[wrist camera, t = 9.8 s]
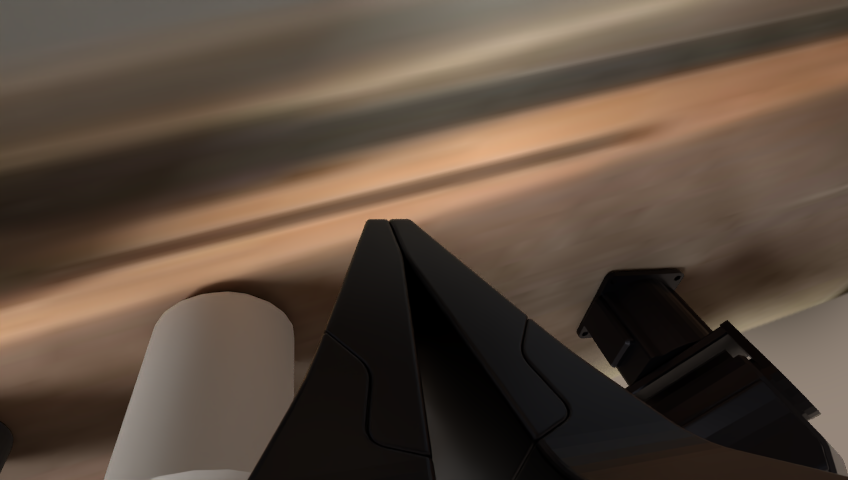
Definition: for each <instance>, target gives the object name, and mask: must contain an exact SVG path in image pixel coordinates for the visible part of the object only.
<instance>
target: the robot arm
mask: <svg viewBox="0 0 848 480" xmlns="http://www.w3.org/2000/svg"><path fill="white" fill-rule="evenodd" d="M683 277H684V274H683V273H682V272H681V271H680V270H654V271H632V272H613V273H609V274H608V275H606V277H605V278H604V280H603V282H602V284H601V285H600V287H599V289H598V291H597V293H596V295H595V297H594V299H593V301H592V303H591V305H590V307H589V308H588V310H587V312H586V314H585V316H584V318H583V320H582V322H581V324H580V326H579V328H578V329H577V334H578V336H579V337H580V338H591V337H592V338H593V339H594V341H595V342H596V344H597V346H598V347H599V349H600V350H601V352H602V353H603V355H604V356H605V358H606V359H607V361H608V362H609V364H610V365H611V366H612V367H614V368H615V367H616V368H617V369H618V371H619V372H620V374H621V375H622V377H623V378H624V379H625V381H626V382H627V384H628V385H629V386H628V387H627V388H623V387H621V386H620V385H619V384H617V383H616V382H614V381H613V380H612V379H610V378H609V377H607V376H606V375H604V374H603V373H601V372H600V371H599V370H597V369H596V368H594V367H593V366H592V365H590V364H589V363H588V362H586V361H585V360H583V359H582V358H581V357H579V356H578V355H576V354H575V353H574V352H572V351H571V350H570V349H568V348H567V347H566V346H564V345H563V344H562V343H561V342H559V341H558V340H557V339H556V338H554V337H553V336H552V335H550V334H549V333H548V332H547V331H545V330H544V329H543V328H542V327H541V326H539V325H538V324H537V323H536V322H534V321H533V320H532V319H528V317H527V315H526V314H524V313H523V312H522V311H521V310H520V309H518V308H517V307H516V306H515V305H513V304H512V303H511V302H510V301H509V300H507V299H506V298H505V297H504V296H503V295H501V294H500V293H499V292H498V291H496V290H495V289H494V288H493V287H492V286H490V285H489V284H488V283H487V282H486V281H484V280H483V279H482V278H481V277H479V276H478V275H477V274H476V273H475V272H473V271H472V270H471V269H470V268H468V267H467V266H466V265H465V264H464V263H462V262H461V261H460V260H459V259H458V258H456V257H455V256H454V255H453V254H451V253H450V252H449V251H448V250H447V249H445V248H444V247H443V246H442V245H440V244H439V243H438V242H437V241H436V240H434V239H433V238H432V237H431V236H430V235H428V234H427V233H426V232H425V231H423V230H422V229H421V228H420V227H419V226H417V225H416V224H415V223H414V222H412V221H411V220H409V219H392V220H390V221H388V220H385V219H370V220H367V222H366V224H365V226H364V229H363V231H362V234H361V237H360V239H359V242H358V244H357V247H356V250H355V252H354V255H353V257H352V260H351V263H350V265H349V268H348V270H347V273H346V276H345V278H344V281H343V283H342V286H341V289H340V291H339V294H338V297H337V299H336V302H335V304H334V307H333V310H332V312H331V315H330V317H329V320H328V323H327V325H326V328H325V330H324V334H323V335H322V337H321V340H320V343H319V345H318V348H317V350H316V353H315V355H314V357H313V360H312V362H311V364H310V367H309V369H308V371H307V373H306V376H305V378H304V380H303V382H302V384H301V386H300V388H299V389H298V391H297V393H296V395H295V397H294V399H293V401H292V403H291V405H290V407H289V408H288V410H287V412H286V414H285V415H284V417H283V419H282V421H281V422H280V424H279V426H278V427H277V429H276V431H275V433H274V434H273V436H272V438H271V440H270V441H269V443H268V445H267V447H266V448H265V450H264V452H263V454H262V455H261V457H260V459H259V460H258V462H257V464H256V466H255V467H254V469H253V471H252V473H251V474H250V476H249V478H248V480H848V474H847V470H846V467H845V463H844V461H843V459H842V458H841V456H840V455H839V454H838V453H837V452H836V451H835V450H834V448H833V447H832V446H831V445H830V444H829V443H828V442H827V441H826V440H825V439H824V438H823V437H822V436H821V434H820V433H819V432H818V431H817V430H816V429H815V428H814V427H813V426H812V425H811V424H810V423H809V422H808V420H810V419H813V418H815V417H817V416H819V415H820V414H821V413H820V412H819V411H818V410H817V409H816V408H815V407H814V405H812V403H811V402H809V400H808V399H807V398H806V397H805V396H804V395H803V394H802V393H801V392H800V391H799V390H798V389H797V388H796V387H795V386H794V385H793V384H792V383H791V382H790V381H789V380H788V379H787V378H786V377H785V376H784V375H783V374H782V373H781V372H780V371H779V370H778V369H777V368H776V367H775V366H774V365H773V364H772V363H771V362H770V361H769V360H768V359H767V358H766V357H765V356H764V355H763V354H762V353H761V352H760V351H759V350H758V349H757V348H755V347H754V346H753V345H752V344H751V343H750V342H749V341H748V340H747V339H746V338H745V337H744V336H743V335H742V334H741V333H740V332H739V331H738V330H737V329H736V328H735V327H734V326H733V325H732V324H731V323H730V322H729V321H728V320H727V321H725V322H724V323H722V324H720V327H719V328H717V329H716V330H714V331H712V330H711V329H710V328H709V327H708V326H707V325H706V324H705V322H704V321H703V320H702V319H701V318H700V317H699V316H698V315H697V314H696V313H695V312H694V311H693V310H692V309H691V308H690V307H689V306H688V305H687V303H686V302H685V301H684V300H683V299H682V298H681V297H680V296H679V295H678V294H677V293H676V292H675V289H676V288H677V286H678V285H679V283H680V282H681V280H682V279H683ZM527 319H528V320H527ZM748 356H749V357H750V358H751V359H750V360H748V359H747V358H746V357H748Z"/></svg>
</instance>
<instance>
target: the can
mask: <svg viewBox="0 0 848 480" xmlns="http://www.w3.org/2000/svg"><path fill="white" fill-rule="evenodd" d="M293 399H294V332H293V325H292V323H291V322H290V320H289V319H288V317H287V316H286V314H285V313H284V312H283V311H281V310H280V309H278V308H277V307H276V306H274V305H273V304H271V303H270V302H268V301H265V300H262V299H260V298H257V297H254V296H252V295H249V294H246V293H238V292H230V291H226V292H214V293H208V294H201V295H198V296H195V297H192V298H188V299H185V300H182V301H180V302H178V303H177V304H175V305H174V306H172V307H171V308H169V309H168V310H166V311H165V312H164V313H163V315H162V316H161V317H160V319H159V320H158V322H157V323H156V325H155V327H154V330H153V333H152V336H151V339H150V342H149V345H148V348H147V351H146V354H145V357H144V360H143V363H142V366H141V369H140V372H139V375H138V378H137V381H136V384H135V387H134V390H133V393H132V396H131V399H130V402H129V405H128V408H127V411H126V414H125V417H124V420H123V423H122V426H121V429H120V432H119V436H118V439H117V442H116V445H115V448H114V451H113V454H112V457H111V460H110V463H109V466H108V469H107V472H106V475H105V478H104V480H248V478H249V476H250V474H251V473H252V471H253V469H254V467H255V466H256V464H257V462H258V460H259V459H260V457H261V455H262V454H263V452H264V450H265V448H266V447H267V445H268V443H269V441H270V440H271V438H272V436H273V434H274V433H275V431H276V429H277V427H278V426H279V424H280V422H281V421H282V419H283V417H284V415H285V414H286V412H287V410H288V408H289V407H290V405H291V403H292V401H293Z"/></svg>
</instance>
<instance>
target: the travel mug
mask: <svg viewBox="0 0 848 480" xmlns="http://www.w3.org/2000/svg"><path fill="white" fill-rule="evenodd" d="M12 444H13V436H12V434H11V432H10V430H9V429H8V428H7V427H6V426H5V425H4V424H2V423H1V422H0V472H1V470H2V468H3V466H4V464H5V462H6V459H7V457H8V455H9V453H10V450H11V448H12Z"/></svg>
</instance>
